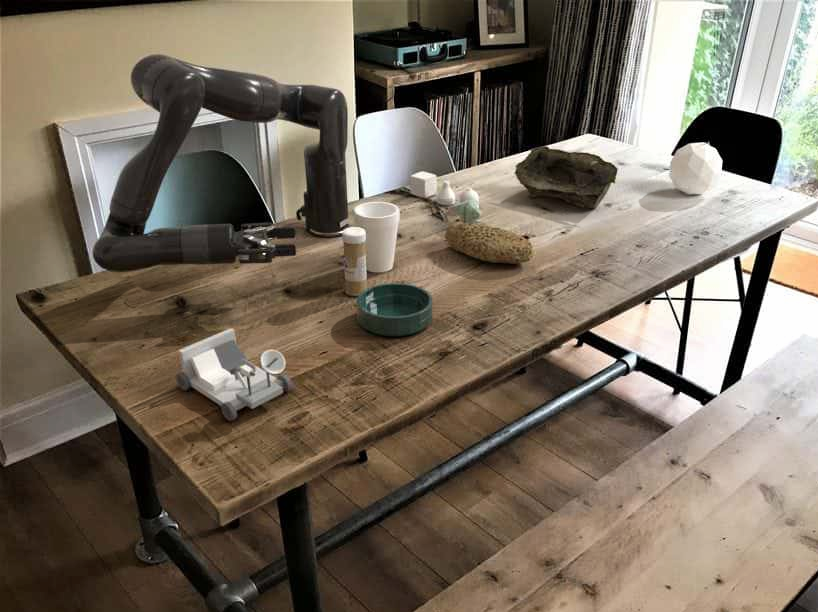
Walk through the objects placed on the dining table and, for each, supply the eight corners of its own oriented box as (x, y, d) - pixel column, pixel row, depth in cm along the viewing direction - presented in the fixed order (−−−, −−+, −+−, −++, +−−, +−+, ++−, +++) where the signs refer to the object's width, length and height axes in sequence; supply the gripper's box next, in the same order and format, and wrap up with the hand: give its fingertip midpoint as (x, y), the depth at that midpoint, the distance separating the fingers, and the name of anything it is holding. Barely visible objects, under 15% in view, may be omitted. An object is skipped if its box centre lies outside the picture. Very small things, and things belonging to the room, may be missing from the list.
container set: (410, 195, 210) (410, 175, 207) (422, 190, 213) (422, 170, 211) (470, 213, 200) (471, 192, 197) (482, 207, 203) (483, 187, 201)
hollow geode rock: (610, 230, 205) (636, 181, 206) (596, 208, 194) (624, 156, 195) (522, 201, 219) (547, 155, 221) (505, 178, 208) (531, 130, 210)
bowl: (345, 330, 147) (343, 309, 145) (376, 298, 159) (376, 278, 156) (415, 345, 143) (415, 323, 141) (442, 310, 155) (443, 290, 153)
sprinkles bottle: (340, 292, 160) (337, 230, 153) (356, 285, 163) (354, 224, 157) (356, 299, 158) (353, 237, 151) (372, 292, 161) (370, 230, 154)
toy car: (298, 347, 123) (236, 377, 115) (303, 399, 128) (244, 431, 120) (229, 309, 132) (167, 334, 125) (236, 359, 137) (177, 386, 130)
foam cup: (406, 261, 174) (406, 205, 167) (389, 278, 166) (388, 220, 160) (367, 254, 177) (365, 199, 170) (349, 271, 169) (346, 213, 162)
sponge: (439, 255, 180) (494, 269, 165) (441, 220, 178) (497, 231, 163) (484, 252, 188) (541, 265, 173) (486, 219, 186) (543, 229, 171)
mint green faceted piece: (450, 225, 193) (451, 199, 189) (459, 220, 196) (460, 194, 192) (477, 233, 189) (478, 206, 185) (486, 228, 192) (488, 201, 188)
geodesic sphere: (685, 156, 226) (680, 123, 215) (734, 166, 219) (731, 132, 208) (663, 198, 223) (657, 166, 211) (712, 209, 216) (708, 177, 204)
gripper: (202, 240, 142) (294, 236, 145) (209, 212, 154) (293, 209, 157) (208, 278, 145) (297, 274, 148) (213, 248, 157) (296, 244, 160)
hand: (295, 240), depth 152 cm, fingers open, 8 cm apart
